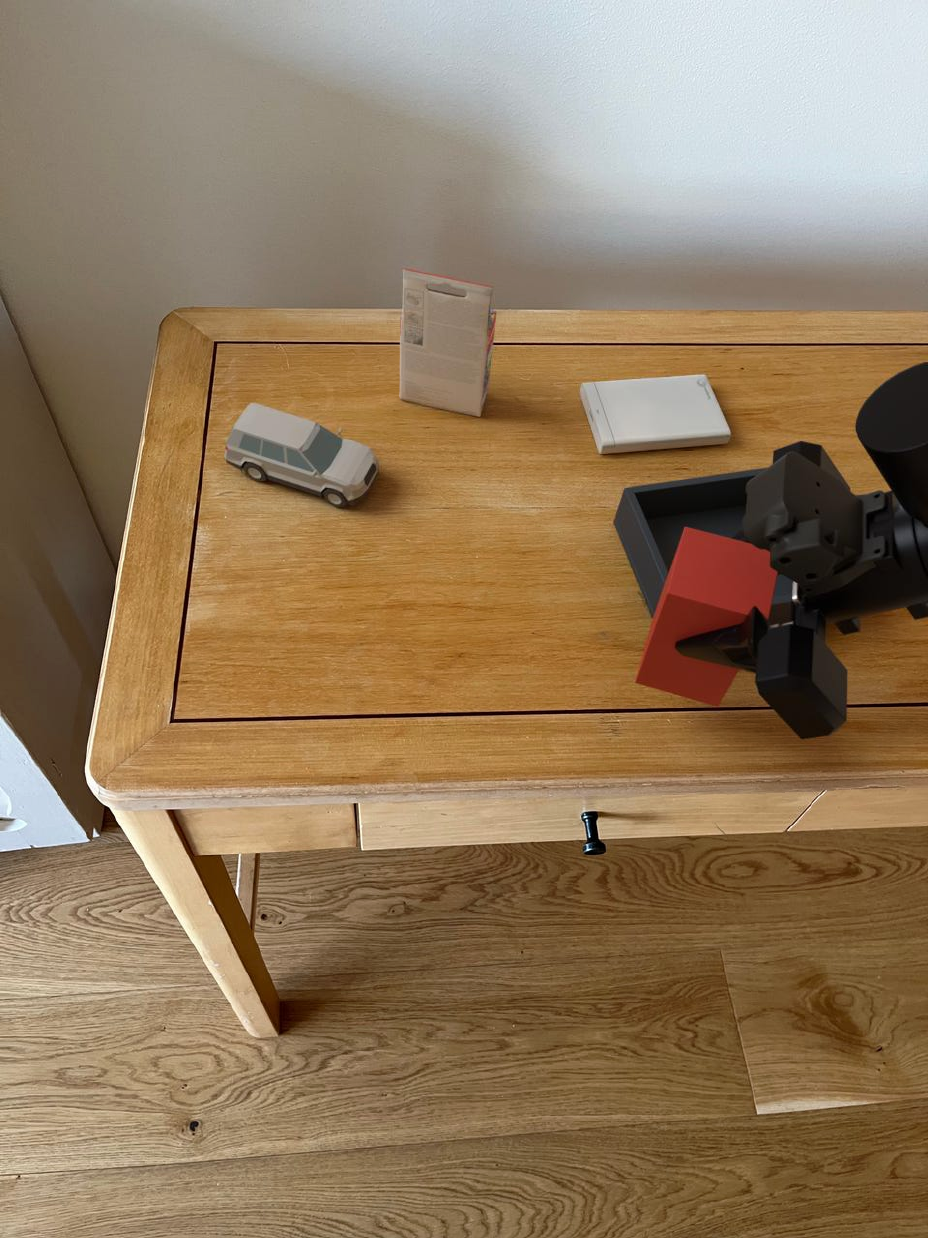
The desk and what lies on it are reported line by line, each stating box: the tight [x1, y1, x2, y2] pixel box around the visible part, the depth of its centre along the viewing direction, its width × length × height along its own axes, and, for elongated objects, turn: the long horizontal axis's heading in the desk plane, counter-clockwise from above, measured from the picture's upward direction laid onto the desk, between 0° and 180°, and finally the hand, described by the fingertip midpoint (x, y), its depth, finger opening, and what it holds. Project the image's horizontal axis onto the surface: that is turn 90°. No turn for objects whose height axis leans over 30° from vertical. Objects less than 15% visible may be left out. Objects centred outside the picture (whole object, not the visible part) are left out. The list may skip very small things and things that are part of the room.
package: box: [634, 527, 778, 708], centre depth 61 cm, size 6×5×13 cm
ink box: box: [399, 267, 497, 418], centre depth 82 cm, size 4×8×15 cm, turn 77°
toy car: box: [223, 401, 380, 508], centre depth 80 cm, size 6×13×5 cm, turn 70°
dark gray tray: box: [613, 466, 793, 625], centre depth 77 cm, size 15×13×5 cm
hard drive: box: [579, 373, 732, 455], centre depth 88 cm, size 2×8×12 cm
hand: (682, 612), depth 61 cm, fingers closed on package, 5 cm apart
